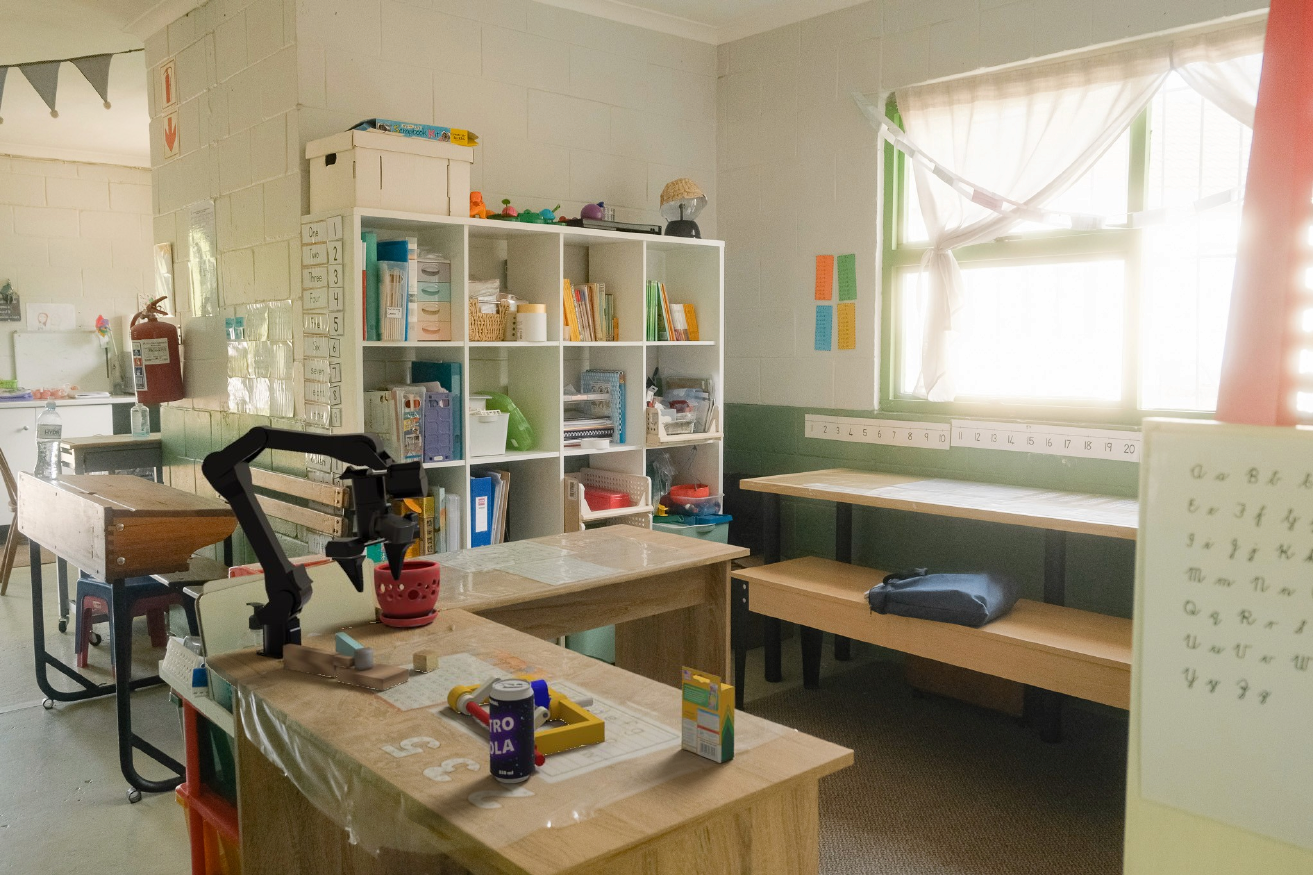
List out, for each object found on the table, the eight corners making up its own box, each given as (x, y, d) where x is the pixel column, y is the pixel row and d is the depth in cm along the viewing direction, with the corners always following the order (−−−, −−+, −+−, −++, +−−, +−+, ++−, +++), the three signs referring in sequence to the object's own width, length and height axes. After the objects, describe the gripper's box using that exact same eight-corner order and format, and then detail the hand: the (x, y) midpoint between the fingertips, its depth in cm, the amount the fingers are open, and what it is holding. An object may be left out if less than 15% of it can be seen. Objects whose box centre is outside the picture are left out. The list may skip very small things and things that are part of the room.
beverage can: (491, 768, 128) (490, 677, 127) (535, 766, 128) (534, 676, 127) (488, 786, 122) (487, 692, 121) (534, 784, 123) (533, 691, 122)
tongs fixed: (408, 680, 163) (408, 651, 163) (383, 691, 158) (382, 660, 158) (304, 661, 174) (304, 633, 174) (277, 670, 169) (276, 641, 169)
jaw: (371, 675, 166) (371, 652, 166) (362, 676, 165) (361, 653, 165) (344, 653, 179) (343, 631, 178) (335, 654, 178) (335, 633, 178)
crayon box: (735, 757, 131) (735, 672, 130) (720, 764, 129) (720, 677, 128) (695, 742, 136) (695, 661, 135) (680, 748, 134) (680, 665, 133)
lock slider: (438, 668, 170) (438, 651, 170) (426, 673, 167) (426, 656, 167) (425, 665, 171) (424, 649, 171) (413, 670, 169) (412, 653, 168)
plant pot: (452, 616, 205) (451, 560, 204) (419, 632, 193) (417, 572, 192) (397, 612, 209) (396, 556, 208) (361, 627, 197) (360, 568, 196)
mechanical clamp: (526, 730, 125) (444, 669, 151) (527, 778, 126) (444, 709, 151) (647, 704, 135) (551, 650, 161) (647, 748, 136) (551, 688, 161)
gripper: (365, 510, 166) (375, 600, 167) (438, 493, 183) (446, 575, 184) (318, 510, 171) (328, 598, 173) (393, 494, 188) (401, 574, 189)
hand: (379, 586), depth 179 cm, fingers open, 9 cm apart
